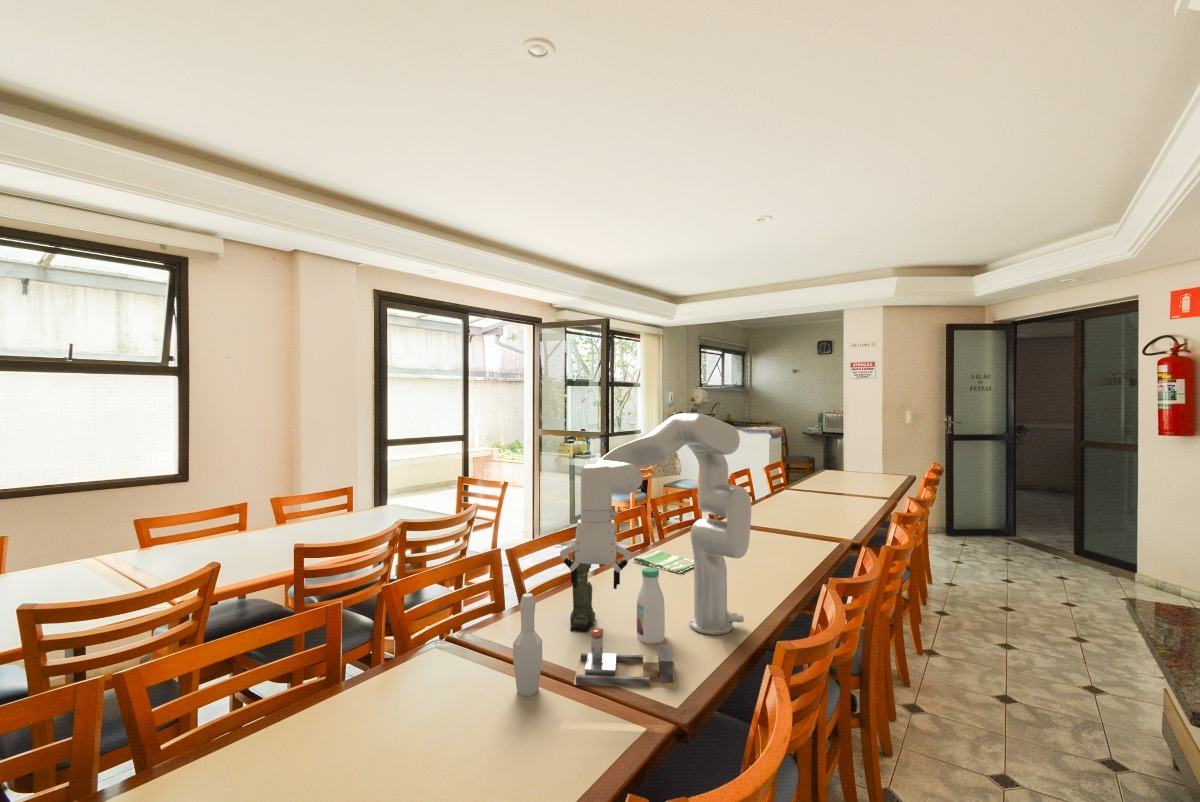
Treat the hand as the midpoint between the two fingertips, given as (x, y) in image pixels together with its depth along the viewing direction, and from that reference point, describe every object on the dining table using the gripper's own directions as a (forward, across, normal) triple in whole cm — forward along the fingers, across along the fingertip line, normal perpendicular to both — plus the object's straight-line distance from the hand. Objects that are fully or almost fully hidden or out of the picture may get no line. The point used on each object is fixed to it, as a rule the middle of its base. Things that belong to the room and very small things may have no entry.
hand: (595, 586), depth 128 cm
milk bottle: (+22, -14, -20) cm, 33 cm away
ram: (+20, -1, 0) cm, 21 cm away
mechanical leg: (+22, +6, -32) cm, 39 cm away
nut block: (+20, -13, 0) cm, 24 cm away
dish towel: (+21, -23, -93) cm, 98 cm away
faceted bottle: (+22, +15, +6) cm, 28 cm away
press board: (+22, -8, 0) cm, 23 cm away
